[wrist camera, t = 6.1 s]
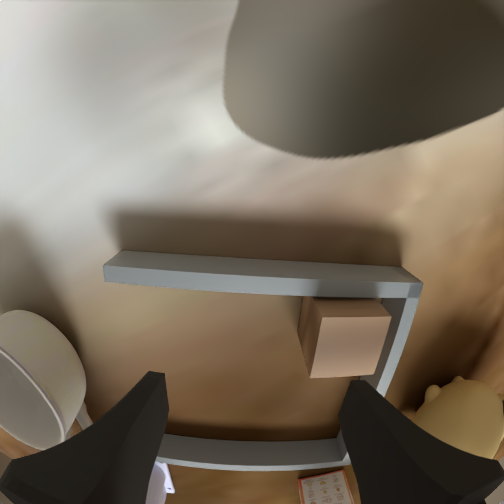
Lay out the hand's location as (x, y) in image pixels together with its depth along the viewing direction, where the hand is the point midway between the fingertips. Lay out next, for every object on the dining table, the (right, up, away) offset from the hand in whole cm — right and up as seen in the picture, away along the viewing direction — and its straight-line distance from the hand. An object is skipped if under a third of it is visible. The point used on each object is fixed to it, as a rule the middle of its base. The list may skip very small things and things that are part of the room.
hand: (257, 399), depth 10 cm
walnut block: (+5, +2, +9) cm, 11 cm away
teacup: (-17, -4, +11) cm, 21 cm away
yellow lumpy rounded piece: (+19, -9, +13) cm, 25 cm away
